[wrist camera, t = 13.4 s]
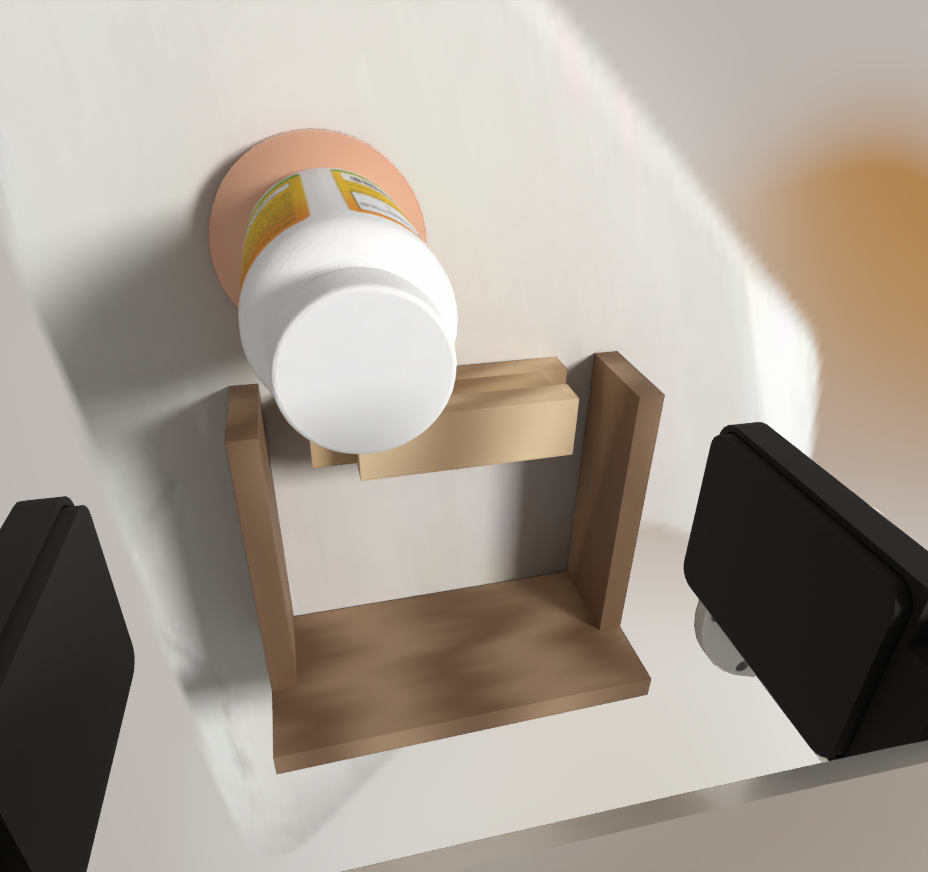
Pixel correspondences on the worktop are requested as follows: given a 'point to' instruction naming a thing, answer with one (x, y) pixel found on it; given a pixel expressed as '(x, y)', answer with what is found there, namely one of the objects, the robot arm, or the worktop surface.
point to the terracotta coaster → (275, 164)
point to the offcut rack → (469, 609)
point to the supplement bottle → (346, 313)
